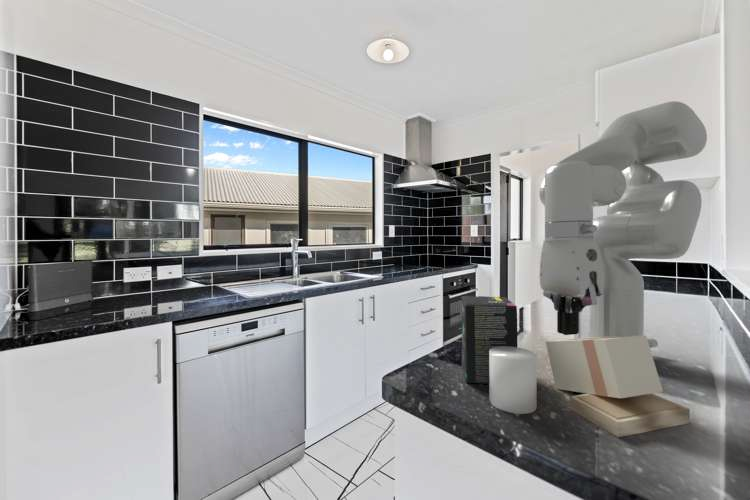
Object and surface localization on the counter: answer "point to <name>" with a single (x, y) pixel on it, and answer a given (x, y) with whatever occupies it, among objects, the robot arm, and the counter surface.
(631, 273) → the robot arm
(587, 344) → the cream carton
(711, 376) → the counter surface
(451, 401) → the counter surface
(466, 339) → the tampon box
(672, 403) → the podium
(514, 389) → the white pillar candle
